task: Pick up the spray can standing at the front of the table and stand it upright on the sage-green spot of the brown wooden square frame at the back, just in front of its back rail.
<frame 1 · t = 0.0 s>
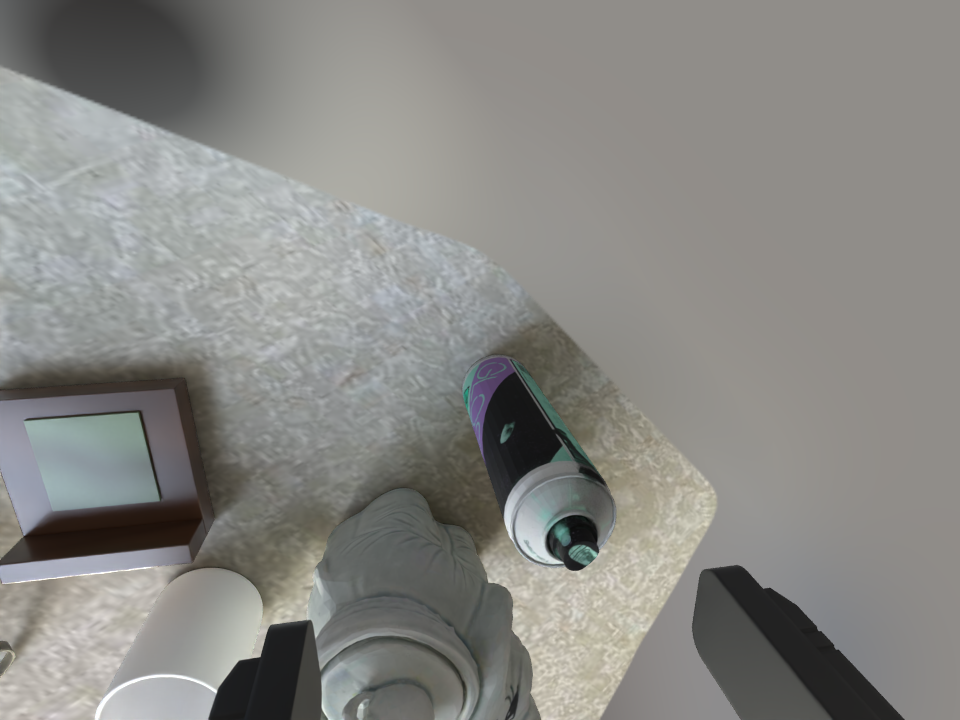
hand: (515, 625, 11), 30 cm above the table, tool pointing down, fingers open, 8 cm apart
brown wooden square frame: (113, 459, 39), on the table
cup: (211, 621, 45), on the table
teapot: (422, 557, 47), on the table
spray can: (495, 386, 42), on the table
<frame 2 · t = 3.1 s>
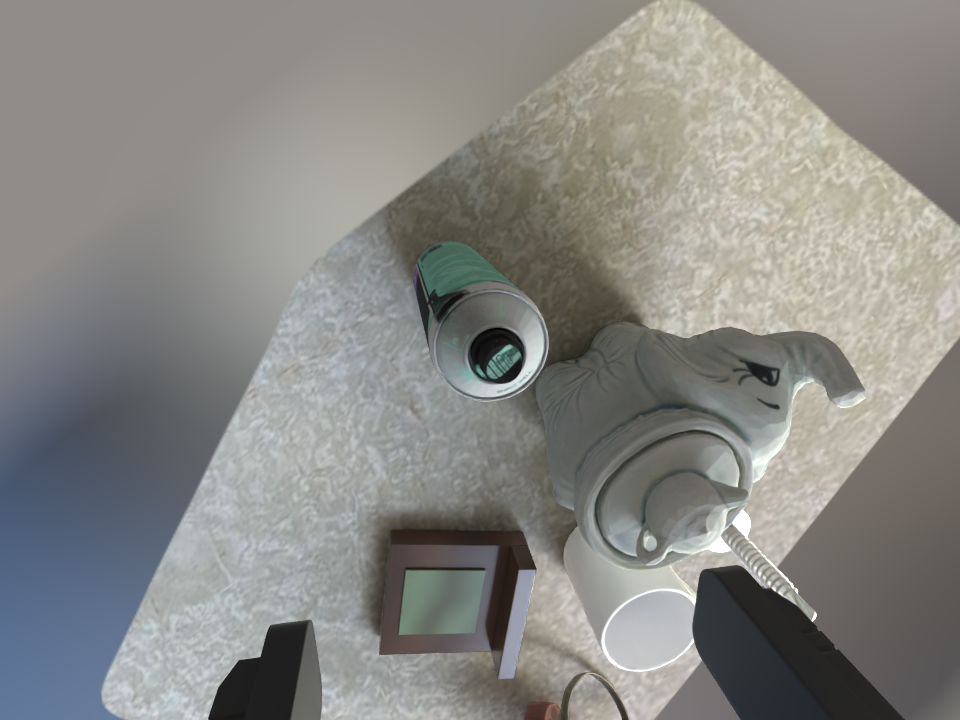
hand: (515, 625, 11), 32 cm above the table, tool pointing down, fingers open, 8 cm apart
binoculars: (559, 711, 58), on the table
brown wooden square frame: (450, 585, 50), on the table
cup: (618, 549, 52), on the table
teapot: (620, 372, 45), on the table
spray can: (449, 276, 40), on the table
screw: (712, 515, 52), on the table
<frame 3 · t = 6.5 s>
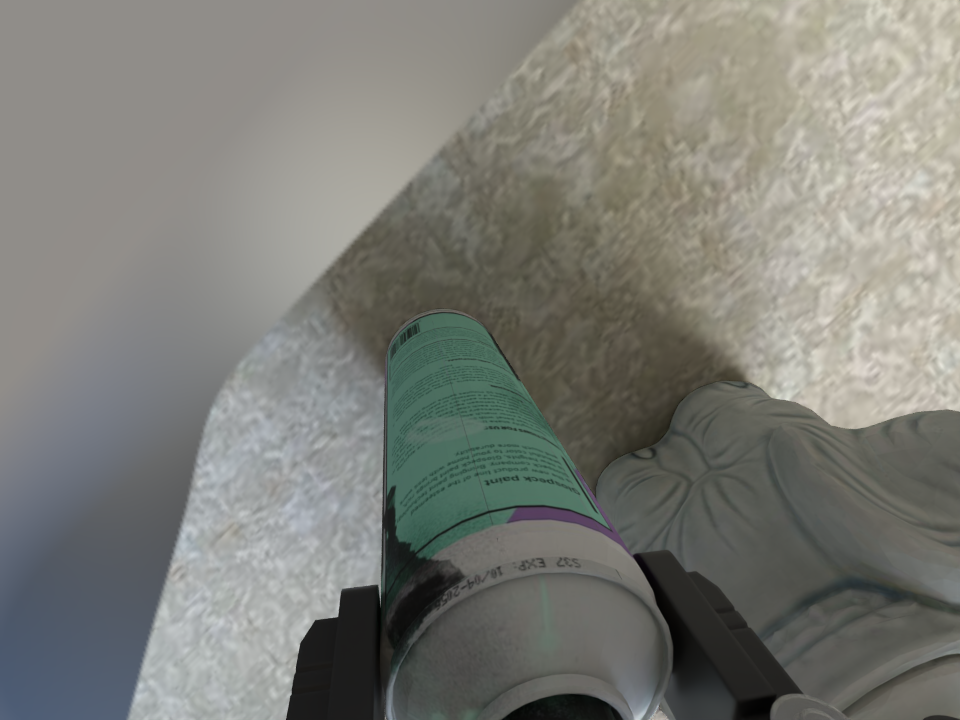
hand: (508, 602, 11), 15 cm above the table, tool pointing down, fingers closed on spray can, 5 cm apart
teapot: (718, 451, 30), on the table
spray can: (442, 361, 26), on the table, touching gripper
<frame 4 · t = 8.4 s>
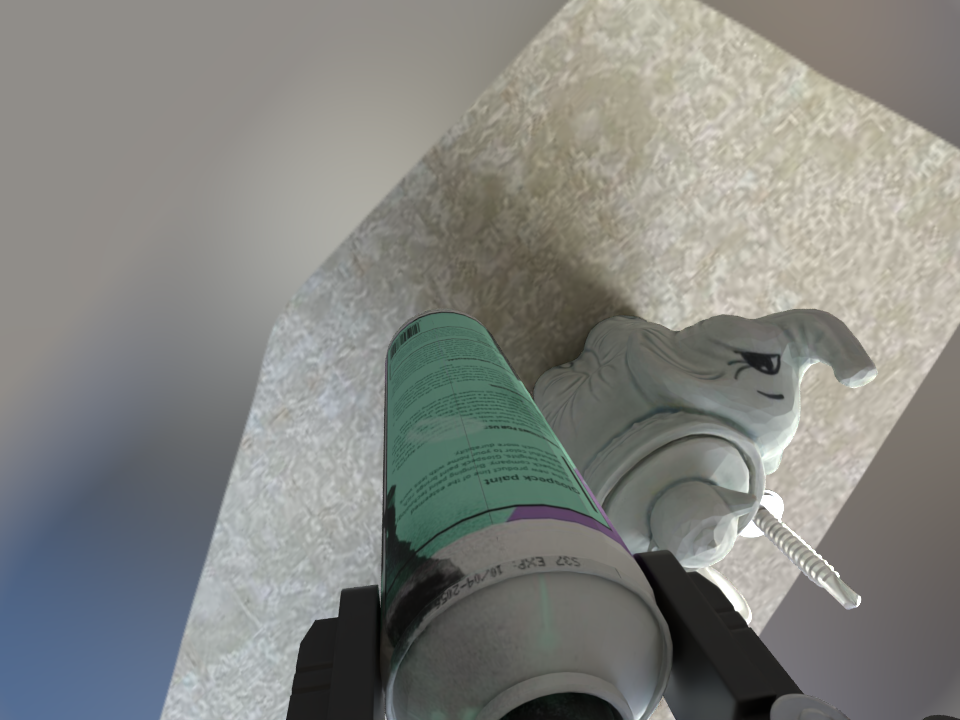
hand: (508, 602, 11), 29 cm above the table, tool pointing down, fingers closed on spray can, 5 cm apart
cup: (647, 545, 50), on the table
teapot: (620, 367, 43), on the table
spray can: (442, 361, 26), point 14 cm above the table, touching gripper
screw: (742, 499, 50), on the table
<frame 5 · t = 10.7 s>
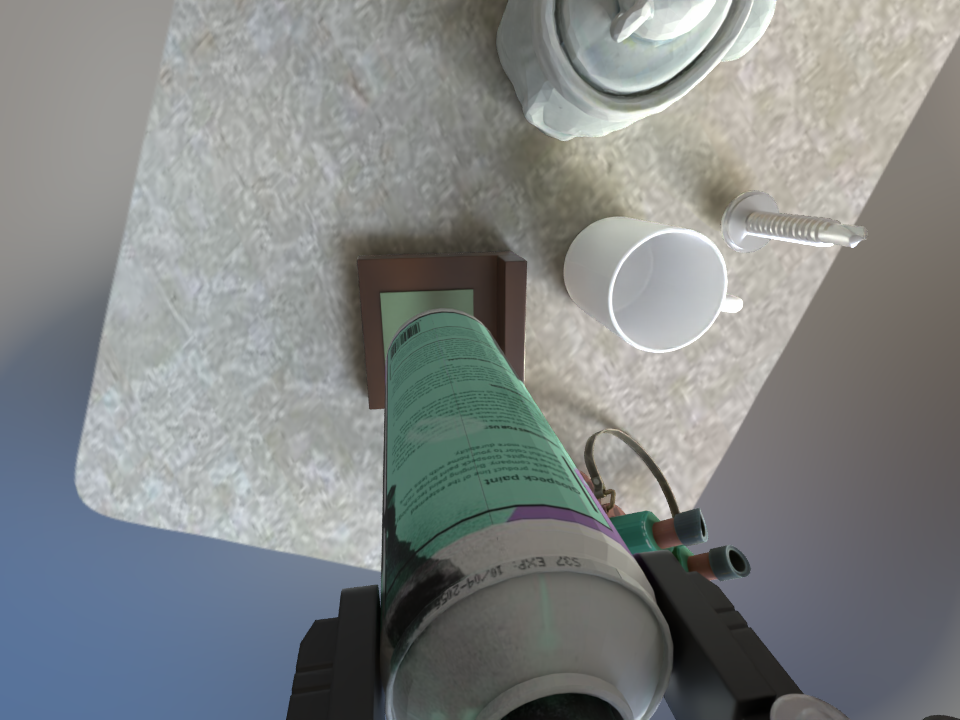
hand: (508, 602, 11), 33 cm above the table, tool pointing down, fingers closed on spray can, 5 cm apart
binoculars: (590, 489, 52), on the table
brown wooden square frame: (439, 327, 44), on the table
cup: (628, 271, 45), on the table
teapot: (596, 22, 38), on the table
spray can: (442, 361, 26), point 18 cm above the table, touching gripper
screw: (734, 220, 45), on the table
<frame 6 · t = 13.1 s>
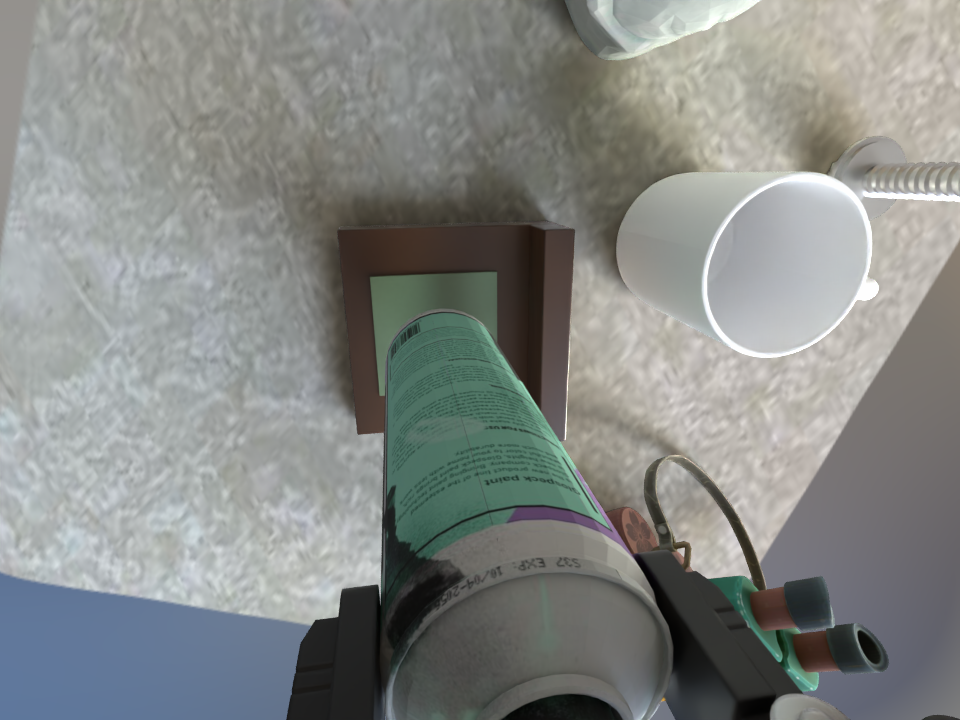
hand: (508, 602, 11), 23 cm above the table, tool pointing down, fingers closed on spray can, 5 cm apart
binoculars: (641, 530, 41), on the table
brown wooden square frame: (450, 324, 33), on the table
cup: (699, 248, 34), on the table
spray can: (442, 361, 26), point 7 cm above the table, touching gripper
screw: (839, 179, 34), on the table
when the fingers open (18 cm above the table, at t = 14.9 s): spray can stays where it is, resting on brown wooden square frame.
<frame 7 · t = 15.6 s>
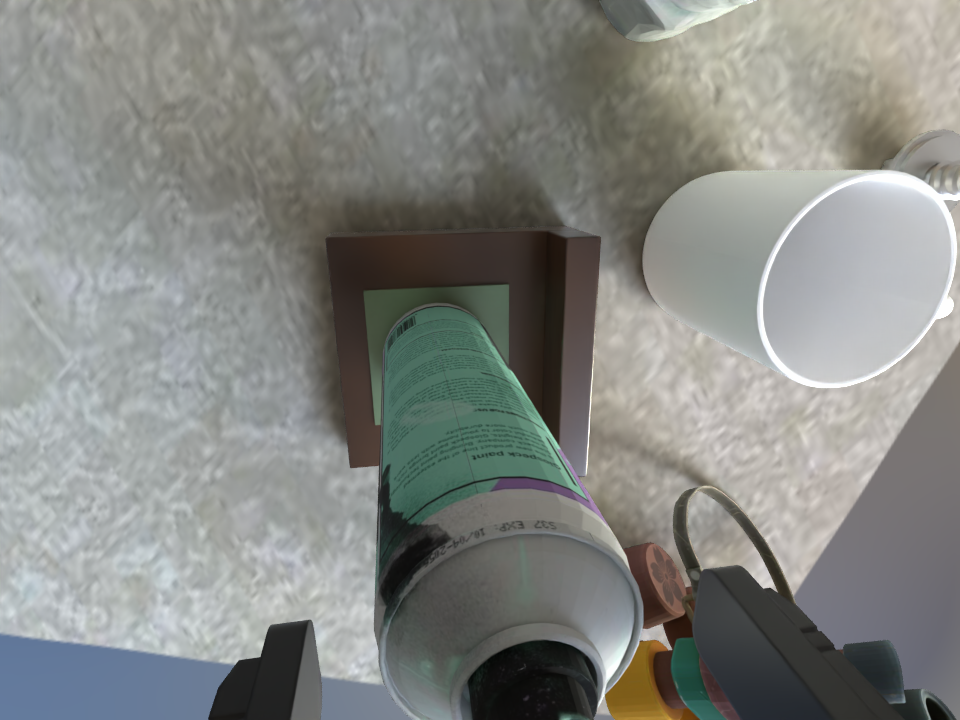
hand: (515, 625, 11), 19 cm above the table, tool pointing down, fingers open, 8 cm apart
binoculars: (664, 565, 37), on the table
brown wooden square frame: (455, 342, 29), on the table
cup: (734, 256, 30), on the table
spray can: (437, 354, 27), point 2 cm above the table, touching brown wooden square frame
screw: (891, 179, 30), on the table
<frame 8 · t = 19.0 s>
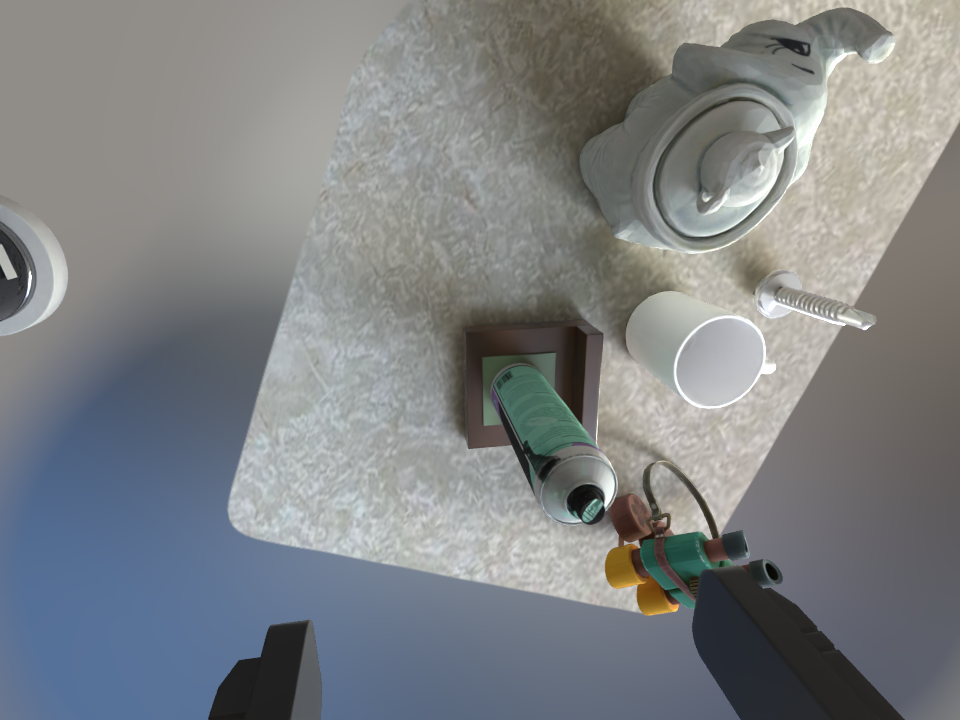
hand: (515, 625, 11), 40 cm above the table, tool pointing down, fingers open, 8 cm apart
binoculars: (640, 509, 61), on the table
brown wooden square frame: (523, 380, 53), on the table
cup: (677, 332, 55), on the table
teapot: (657, 142, 48), on the table
spray can: (517, 388, 51), point 2 cm above the table, touching brown wooden square frame
screw: (764, 289, 55), on the table
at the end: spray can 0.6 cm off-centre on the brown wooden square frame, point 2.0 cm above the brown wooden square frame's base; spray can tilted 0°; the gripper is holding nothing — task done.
